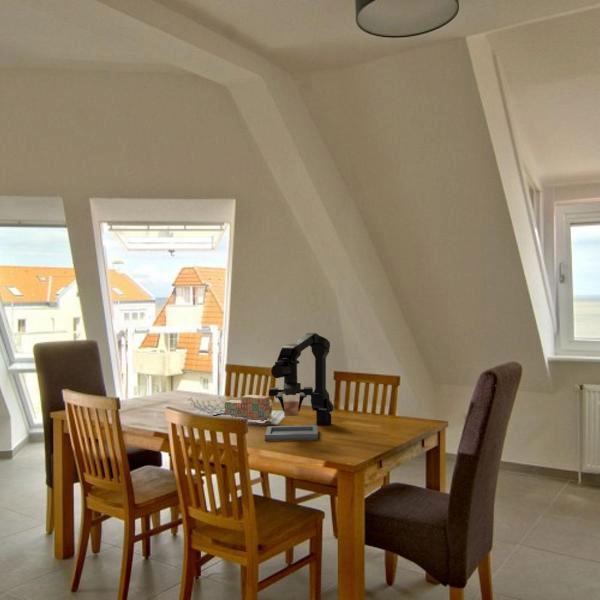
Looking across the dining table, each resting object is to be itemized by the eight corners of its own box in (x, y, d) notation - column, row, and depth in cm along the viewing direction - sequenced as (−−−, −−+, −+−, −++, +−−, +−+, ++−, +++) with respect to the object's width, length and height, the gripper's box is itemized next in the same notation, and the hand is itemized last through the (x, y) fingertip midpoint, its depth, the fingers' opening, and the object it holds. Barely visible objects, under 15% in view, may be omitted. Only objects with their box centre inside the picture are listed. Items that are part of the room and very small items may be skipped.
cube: (284, 416, 252) (283, 401, 252) (284, 413, 258) (284, 399, 258) (298, 415, 252) (298, 401, 251) (298, 412, 258) (298, 399, 257)
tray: (264, 441, 247) (264, 435, 247) (267, 432, 263) (267, 426, 263) (317, 439, 247) (317, 433, 247) (317, 431, 263) (317, 425, 263)
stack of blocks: (225, 421, 288) (224, 395, 288) (231, 418, 294) (230, 393, 294) (264, 424, 280) (263, 398, 280) (270, 421, 286) (269, 395, 285)
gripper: (267, 378, 246) (268, 415, 247) (312, 377, 246) (313, 415, 246) (269, 374, 258) (270, 410, 258) (312, 373, 257) (313, 409, 258)
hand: (291, 411), depth 255 cm, fingers closed on cube, 6 cm apart
